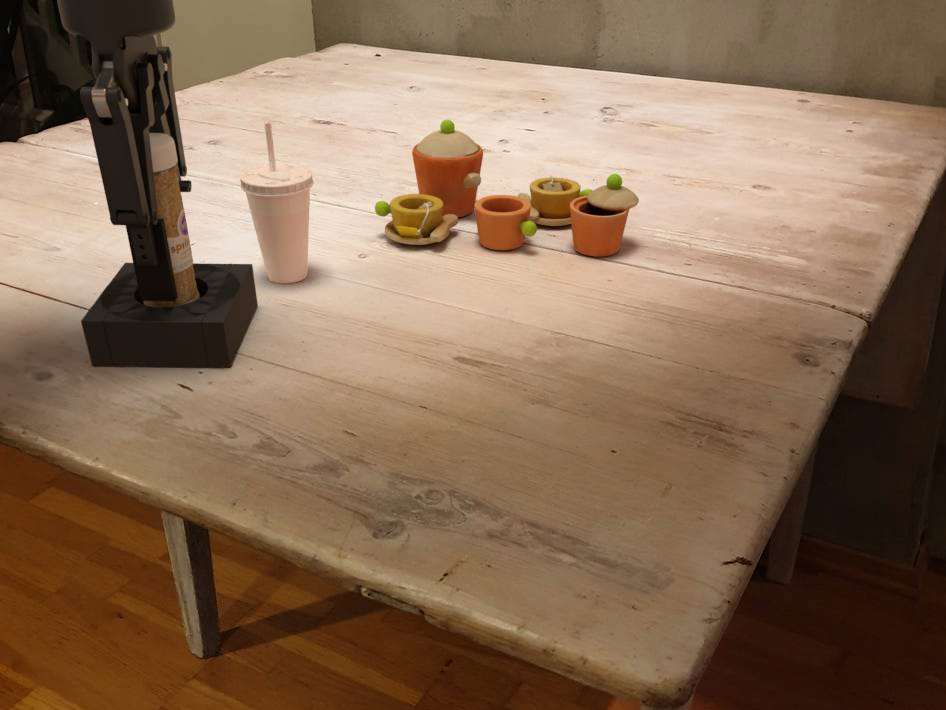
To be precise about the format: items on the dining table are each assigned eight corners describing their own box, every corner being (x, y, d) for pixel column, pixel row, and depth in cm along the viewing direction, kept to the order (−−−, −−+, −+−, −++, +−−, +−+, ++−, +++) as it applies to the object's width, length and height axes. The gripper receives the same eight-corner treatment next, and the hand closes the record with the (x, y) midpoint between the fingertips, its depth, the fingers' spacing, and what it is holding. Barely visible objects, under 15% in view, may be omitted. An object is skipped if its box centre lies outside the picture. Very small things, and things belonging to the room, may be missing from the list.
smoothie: (302, 256, 95) (287, 109, 87) (334, 278, 90) (321, 127, 82) (241, 271, 91) (220, 121, 84) (271, 295, 87) (252, 140, 79)
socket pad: (91, 366, 77) (80, 320, 74) (133, 304, 86) (124, 262, 83) (230, 367, 76) (223, 322, 74) (258, 305, 86) (252, 263, 83)
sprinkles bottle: (202, 312, 78) (174, 145, 71) (143, 318, 77) (108, 150, 69) (199, 288, 82) (173, 127, 74) (143, 294, 81) (110, 131, 73)
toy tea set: (368, 248, 96) (362, 151, 91) (403, 194, 109) (400, 107, 103) (631, 268, 93) (642, 169, 87) (637, 210, 105) (646, 121, 100)
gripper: (125, -9, 58) (186, 336, 71) (197, -51, 72) (237, 243, 86) (0, -11, 58) (85, 335, 71) (97, -52, 72) (152, 242, 86)
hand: (168, 284), depth 78 cm, fingers closed on sprinkles bottle, 4 cm apart
